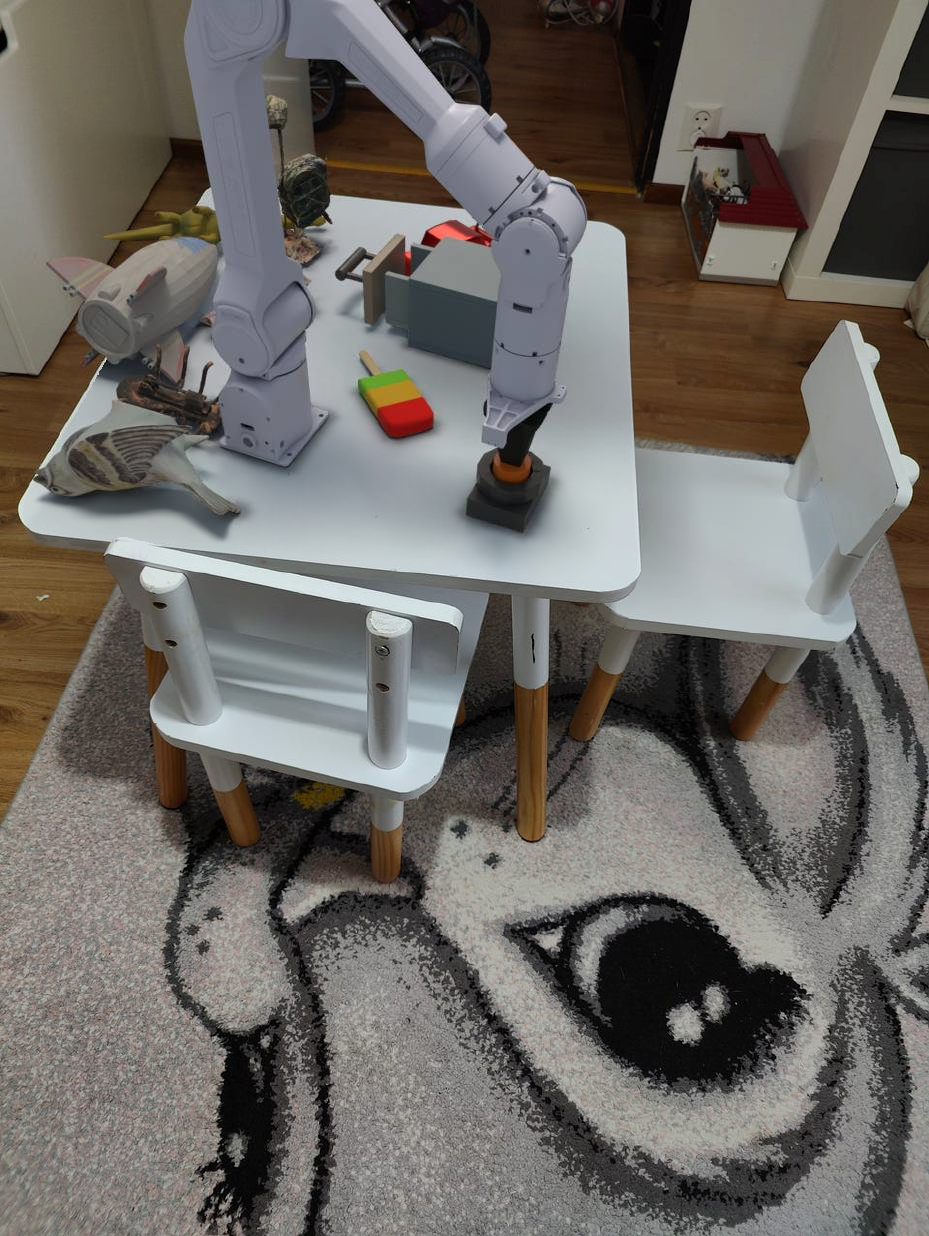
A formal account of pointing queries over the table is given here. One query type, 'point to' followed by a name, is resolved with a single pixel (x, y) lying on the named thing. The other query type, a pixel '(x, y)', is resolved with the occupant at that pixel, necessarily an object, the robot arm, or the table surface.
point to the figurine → (128, 457)
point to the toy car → (451, 230)
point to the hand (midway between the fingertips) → (512, 460)
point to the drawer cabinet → (455, 302)
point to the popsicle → (395, 400)
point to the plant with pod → (299, 189)
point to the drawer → (385, 279)
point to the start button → (511, 470)
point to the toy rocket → (141, 299)
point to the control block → (506, 494)
